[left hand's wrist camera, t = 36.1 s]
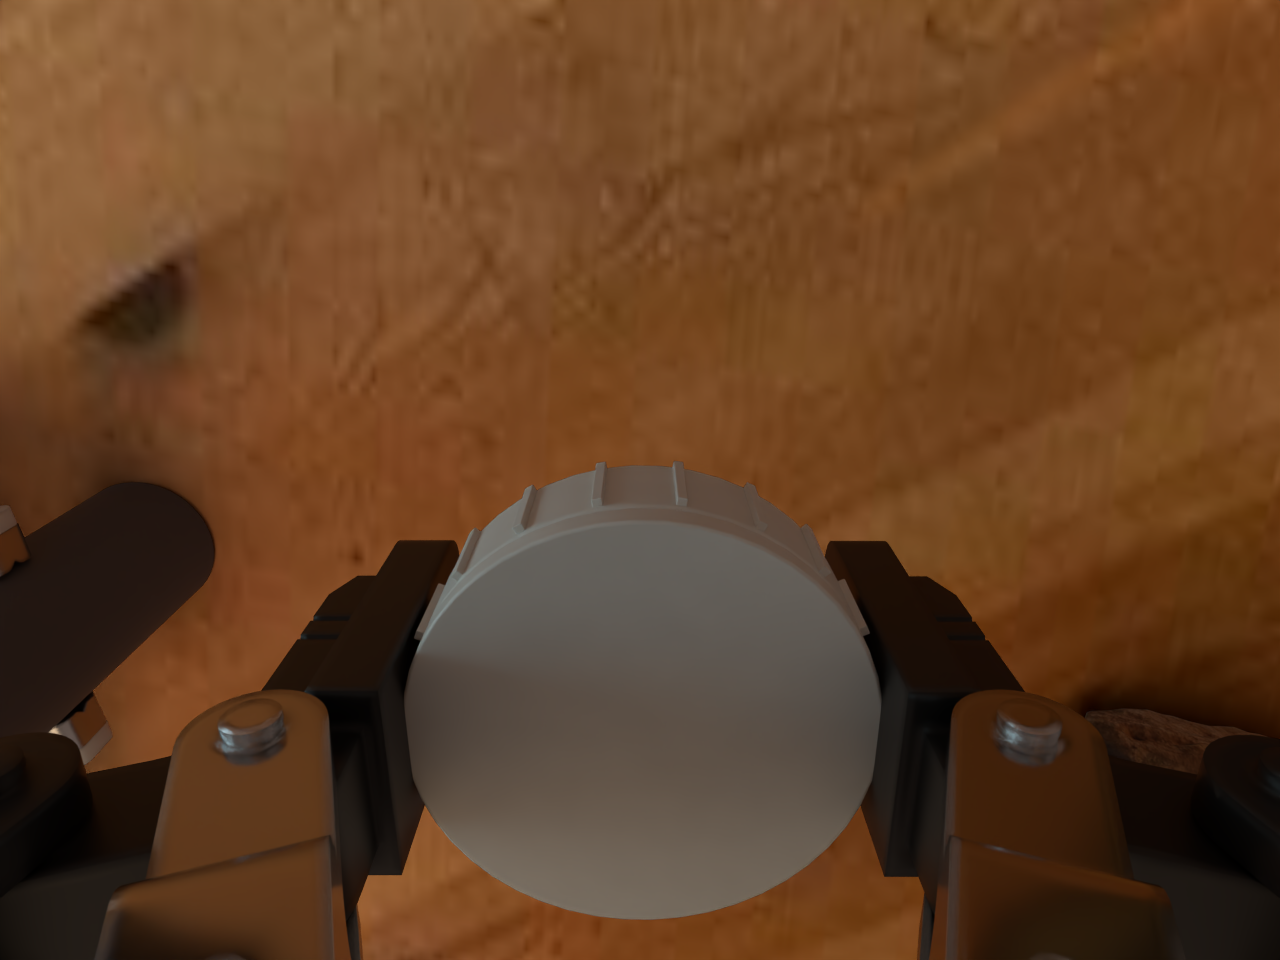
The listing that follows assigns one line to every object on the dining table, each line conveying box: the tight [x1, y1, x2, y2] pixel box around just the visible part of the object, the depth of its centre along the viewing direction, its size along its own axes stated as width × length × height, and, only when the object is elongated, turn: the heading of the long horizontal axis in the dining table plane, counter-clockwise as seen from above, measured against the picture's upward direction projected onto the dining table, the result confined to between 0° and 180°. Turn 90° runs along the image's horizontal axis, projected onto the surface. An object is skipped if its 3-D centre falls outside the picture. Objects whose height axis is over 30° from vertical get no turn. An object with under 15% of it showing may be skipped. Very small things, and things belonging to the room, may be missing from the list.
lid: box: [404, 461, 882, 920], centre depth 10 cm, size 5×5×2 cm
